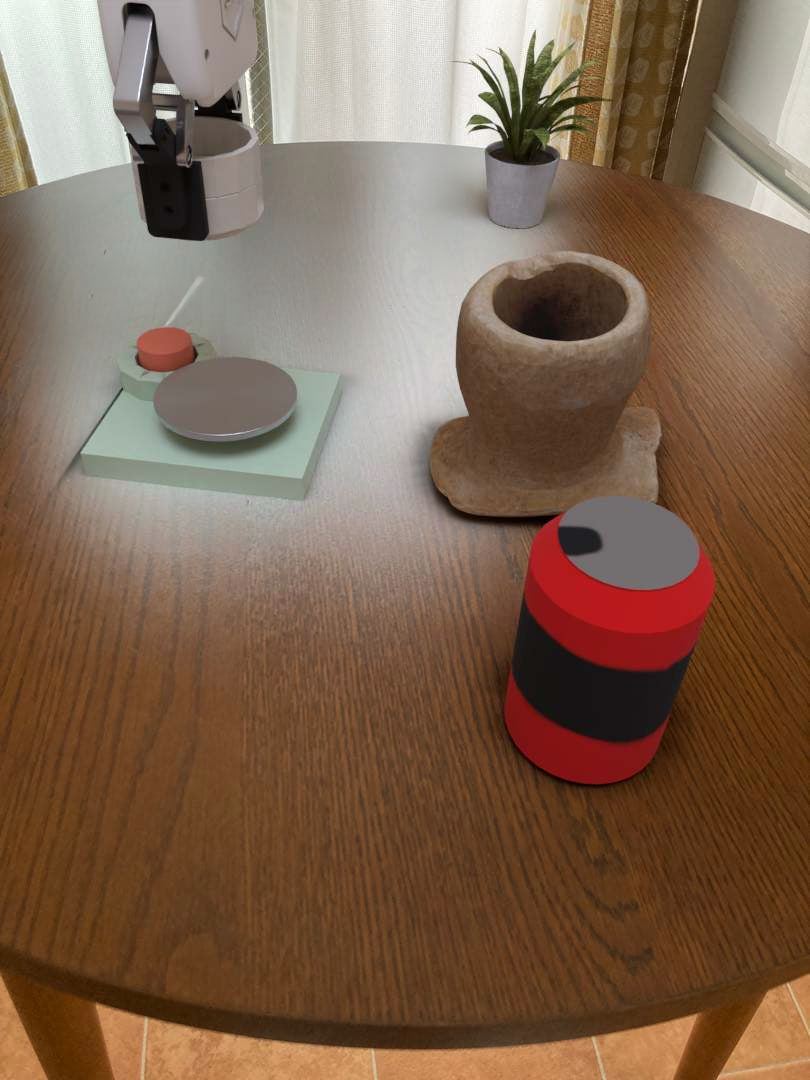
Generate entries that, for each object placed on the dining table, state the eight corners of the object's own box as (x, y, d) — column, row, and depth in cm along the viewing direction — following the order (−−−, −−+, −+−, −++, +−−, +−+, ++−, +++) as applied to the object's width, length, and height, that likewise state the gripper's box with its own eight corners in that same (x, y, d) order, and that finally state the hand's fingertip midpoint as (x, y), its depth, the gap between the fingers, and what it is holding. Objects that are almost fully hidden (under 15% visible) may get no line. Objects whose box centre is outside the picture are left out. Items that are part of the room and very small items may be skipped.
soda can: (492, 665, 48) (519, 483, 40) (636, 660, 48) (691, 479, 40) (516, 793, 42) (553, 611, 34) (678, 785, 43) (752, 605, 34)
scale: (74, 475, 58) (62, 430, 56) (145, 370, 67) (137, 327, 65) (303, 502, 57) (301, 457, 54) (343, 391, 66) (342, 348, 64)
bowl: (123, 238, 50) (108, 154, 47) (165, 191, 55) (153, 112, 52) (245, 250, 49) (238, 165, 46) (276, 200, 54) (271, 121, 51)
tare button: (132, 371, 62) (128, 351, 60) (150, 344, 64) (147, 324, 63) (184, 376, 61) (181, 356, 60) (201, 349, 64) (198, 329, 63)
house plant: (486, 265, 82) (505, 66, 71) (408, 208, 91) (415, 23, 80) (611, 235, 88) (646, 46, 77) (526, 184, 96) (547, 8, 85)
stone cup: (439, 556, 54) (457, 324, 44) (422, 436, 62) (434, 220, 52) (693, 550, 55) (767, 322, 45) (641, 433, 63) (693, 221, 53)
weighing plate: (133, 433, 56) (131, 426, 55) (180, 356, 62) (179, 350, 62) (278, 449, 55) (277, 442, 55) (311, 370, 62) (310, 363, 61)
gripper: (171, -174, 33) (222, 285, 45) (284, -204, 46) (300, 159, 58) (-27, -184, 34) (75, 271, 46) (139, -211, 47) (185, 150, 59)
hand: (200, 206), depth 52 cm, fingers closed on bowl, 6 cm apart
